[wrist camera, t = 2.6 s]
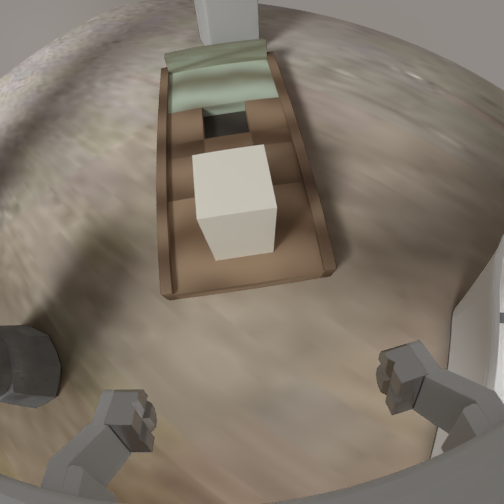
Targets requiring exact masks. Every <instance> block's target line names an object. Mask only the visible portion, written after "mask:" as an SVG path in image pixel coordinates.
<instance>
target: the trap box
mask: <svg viewBox="0 0 504 504" xmlns="http://www.w3.org/2000/svg"><path fill="white" fill-rule="evenodd" d="M164 58H165V62H166V65H167V67H166V68H161V79H160V93H159V109H158V131H157V175H156V193H157V239H158V261H159V278H160V293H161V295H162V296H164V297H165V298H167V299H168V300H175V299H182V298H190V297H197V296H205V295H212V294H219V293H226V292H233V291H240V290H247V289H253V288H260V287H266V286H273V285H279V284H286V283H292V282H298V281H304V280H310V279H316V278H322V277H328V276H331V275H332V273H333V272H334V271H335V270H336V264H335V259H334V255H333V251H332V247H331V242H330V238H329V234H328V230H327V226H326V222H325V218H324V214H323V210H322V206H321V203H320V199H319V195H318V191H317V188H316V184H315V181H314V177H313V173H312V170H311V166H310V163H309V160H308V156H307V153H306V149H305V146H304V143H303V140H302V136H301V133H300V130H299V127H298V123H297V120H296V117H295V114H294V111H293V108H292V105H291V102H290V99H289V96H288V93H287V90H286V87H285V84H284V81H283V79H282V76H281V73H280V70H279V67H278V65H277V62H276V59H275V56H274V54H273V52H267V42H266V39H253V40H243V41H235V42H227V43H220V44H213V45H207V46H201V47H195V48H190V49H184V50H179V51H175V52H170V53H165V56H164ZM256 145H264V148H265V152H266V157H267V161H268V166H269V171H270V176H271V180H272V185H273V190H274V195H275V200H276V205H277V214H276V227H275V239H274V250H273V252H271V253H264V254H257V255H251V256H244V257H237V258H231V259H224V260H217V261H216V260H215V258H214V256H213V253H212V251H211V249H210V247H209V245H208V243H207V241H206V239H205V236H204V234H203V232H202V230H201V228H200V226H199V223H198V221H197V217H196V205H195V191H194V177H193V161H192V155H197V154H203V153H209V152H215V151H221V150H227V149H234V148H241V147H248V146H256Z"/></svg>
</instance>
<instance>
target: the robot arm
mask: <svg viewBox="0 0 504 504" xmlns="http://www.w3.org/2000/svg"><path fill="white" fill-rule="evenodd" d="M379 361H380V363H381V364H380V365H379V366H378V367H377V372H376V378H377V384H378V387H379V389H380V391H381V393H383V394H385V395H387V397H386V401H385V402H386V404H387V406H388V408H389V410H390V413H391V415H395V414H398V413H401V412H404V411H407V410H410V409H413V410H414V411H416V412H417V413H419V414H420V415H421V416H423V417H424V418H426V419H427V420H429V421H430V422H432V423H433V424H435V425H436V426H438V427H439V428H441V429H442V430H444V431H445V432H447V433H448V434H449V435H448V436H447V438H446V440H445V441H444V443H443V444H442V446H441V449H442V451H443V453H442V454H440V455H438V456H435V457H433V458H431V459H429V460H426V461H424V462H421V463H419V464H417V465H414V466H412V467H409V468H406V469H404V470H401V471H398V472H396V473H393V474H390V475H387V476H384V477H381V478H378V479H375V480H372V481H368V482H365V483H362V484H358V485H355V486H351V487H347V488H344V489H340V490H336V491H331V492H327V493H323V494H318V495H313V496H308V497H303V498H298V499H292V500H286V501H279V502H272V503H264V504H504V404H503V402H502V401H501V399H500V398H499V396H498V395H497V393H496V392H495V391H493V390H491V389H489V388H487V387H484V386H482V385H480V384H478V383H475V382H473V381H471V380H469V379H467V378H464V377H462V376H460V375H458V374H456V373H453V372H451V371H449V370H447V369H442V370H441V368H440V367H439V366H438V364H437V363H436V361H435V360H434V358H433V357H432V356H431V354H430V353H429V351H428V350H427V349H426V347H425V346H424V344H423V343H422V342H421V341H420V340H417V341H414V342H411V343H407V344H404V345H400V346H397V347H394V348H390V349H387V350H384V351H381V352H380V354H379ZM156 424H157V417H156V411H155V408H154V406H153V404H152V403H150V402H149V401H147V394H146V393H145V391H144V390H141V389H134V390H104V391H103V392H102V393H101V396H100V399H99V402H98V405H97V408H96V412H95V415H94V418H93V421H92V424H88V425H87V426H86V427H85V428H83V429H82V430H81V431H80V432H79V433H78V434H77V435H76V436H75V437H74V438H73V439H71V440H70V441H69V442H68V443H67V444H66V445H65V446H64V447H63V448H62V449H60V450H59V451H58V452H57V453H56V454H55V455H54V456H53V457H52V458H51V459H49V462H48V465H47V468H46V472H45V475H44V478H43V482H42V485H41V487H39V486H35V485H32V484H29V483H26V482H22V481H19V480H16V479H13V478H11V477H8V476H5V475H2V474H0V504H123V503H116V500H117V497H116V495H115V494H114V493H112V492H111V491H110V490H108V489H107V488H106V486H107V485H108V483H109V482H110V481H111V479H112V478H113V477H114V476H115V474H116V473H117V472H118V470H119V469H120V468H121V467H122V465H123V464H124V463H125V461H126V460H127V459H128V457H129V456H130V455H131V452H153V445H154V438H155V437H154V436H153V434H152V433H151V432H152V431H153V430H154V429H155V428H156Z"/></svg>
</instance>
